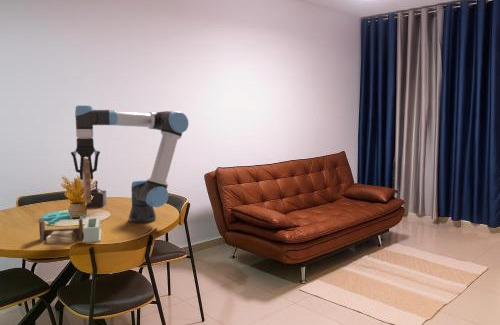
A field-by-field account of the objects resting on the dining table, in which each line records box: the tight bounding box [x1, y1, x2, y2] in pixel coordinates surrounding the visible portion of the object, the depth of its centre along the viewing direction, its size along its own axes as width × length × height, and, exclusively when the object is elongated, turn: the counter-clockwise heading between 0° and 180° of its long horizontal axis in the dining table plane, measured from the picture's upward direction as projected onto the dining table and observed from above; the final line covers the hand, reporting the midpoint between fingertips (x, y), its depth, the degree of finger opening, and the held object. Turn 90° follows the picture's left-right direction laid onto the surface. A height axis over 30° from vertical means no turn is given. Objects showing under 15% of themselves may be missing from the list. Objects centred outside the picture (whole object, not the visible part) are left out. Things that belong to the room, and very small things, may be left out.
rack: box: [38, 216, 84, 244], centre depth 192 cm, size 18×8×10 cm, turn 109°
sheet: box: [82, 157, 92, 204], centre depth 194 cm, size 15×2×20 cm, turn 27°
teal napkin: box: [38, 211, 86, 226], centre depth 230 cm, size 20×2×20 cm
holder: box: [81, 217, 102, 243], centre depth 197 cm, size 8×19×7 cm, turn 19°
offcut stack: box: [46, 231, 77, 244], centre depth 190 cm, size 12×5×4 cm, turn 101°
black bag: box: [86, 180, 107, 208], centre depth 260 cm, size 16×11×18 cm
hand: (86, 185), depth 194 cm, fingers closed on sheet, 2 cm apart
